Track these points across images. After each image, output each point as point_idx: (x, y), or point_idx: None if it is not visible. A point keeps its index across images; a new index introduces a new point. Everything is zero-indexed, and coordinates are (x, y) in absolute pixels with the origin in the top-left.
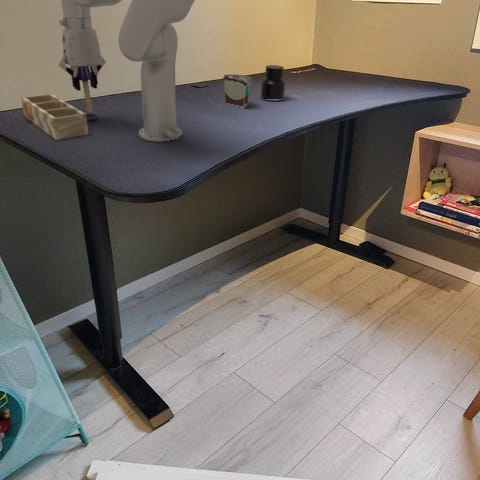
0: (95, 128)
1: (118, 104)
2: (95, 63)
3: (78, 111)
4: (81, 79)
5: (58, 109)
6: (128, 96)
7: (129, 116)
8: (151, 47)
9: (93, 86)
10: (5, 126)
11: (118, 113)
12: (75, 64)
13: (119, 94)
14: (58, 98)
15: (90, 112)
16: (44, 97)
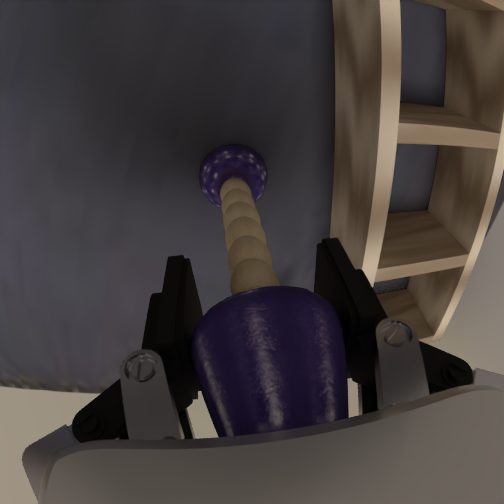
0: (264, 33)
1: (81, 323)
2: (129, 463)
3: (395, 19)
4: (325, 301)
5: (456, 127)
6: (54, 370)
7: (51, 166)
8: None
9: (192, 281)
10: (489, 227)
11: (88, 224)
12: (474, 411)
13: (80, 389)
14: None
15: (237, 179)
16: None
